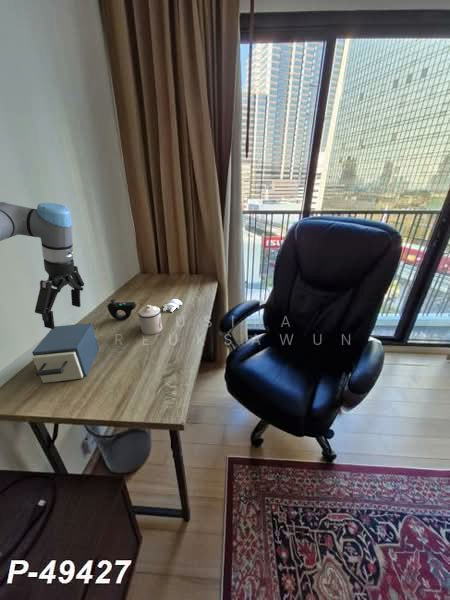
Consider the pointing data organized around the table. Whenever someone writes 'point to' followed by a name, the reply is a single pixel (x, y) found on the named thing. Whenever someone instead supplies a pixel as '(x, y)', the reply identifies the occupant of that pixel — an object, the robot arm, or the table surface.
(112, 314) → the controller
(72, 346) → the blue cabinet box
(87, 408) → the table surface
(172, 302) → the astronaut figurine
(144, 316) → the teacup with lid
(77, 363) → the drawer
